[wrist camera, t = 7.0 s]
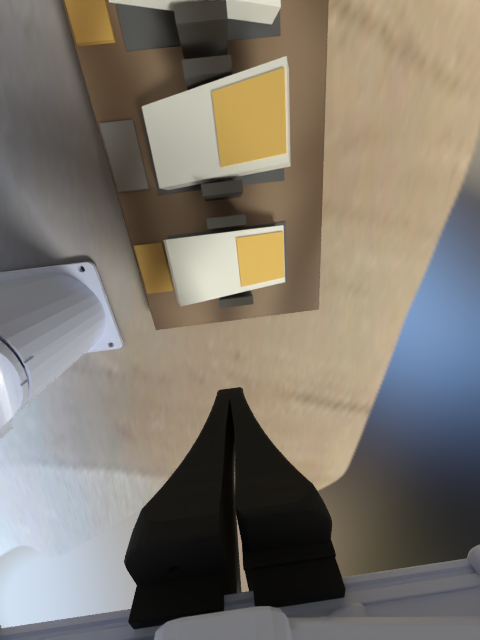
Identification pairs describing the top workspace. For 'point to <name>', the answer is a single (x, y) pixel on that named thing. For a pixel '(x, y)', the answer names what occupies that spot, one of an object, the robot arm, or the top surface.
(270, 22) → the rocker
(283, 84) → the rocker middle
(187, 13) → the switch panel
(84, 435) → the top surface
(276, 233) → the block
